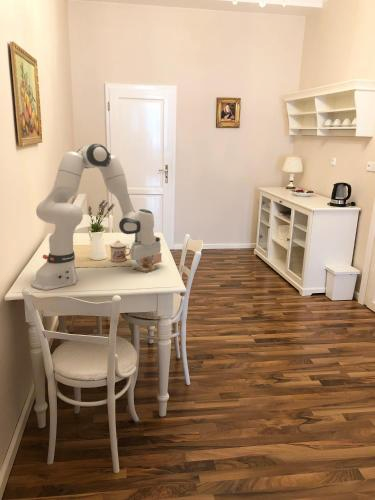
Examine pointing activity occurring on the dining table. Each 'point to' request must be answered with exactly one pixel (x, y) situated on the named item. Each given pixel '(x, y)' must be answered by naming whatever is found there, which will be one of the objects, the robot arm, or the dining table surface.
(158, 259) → the pink hollow square box
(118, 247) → the teacup with lid
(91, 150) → the robot arm
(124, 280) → the dining table surface
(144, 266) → the lid
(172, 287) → the dining table surface
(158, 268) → the mat
